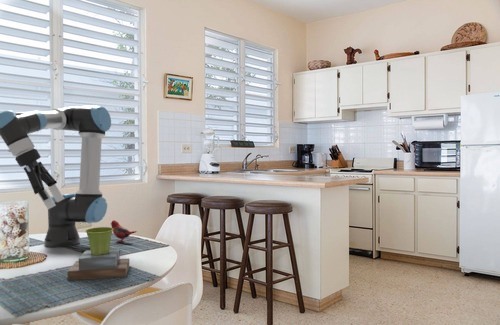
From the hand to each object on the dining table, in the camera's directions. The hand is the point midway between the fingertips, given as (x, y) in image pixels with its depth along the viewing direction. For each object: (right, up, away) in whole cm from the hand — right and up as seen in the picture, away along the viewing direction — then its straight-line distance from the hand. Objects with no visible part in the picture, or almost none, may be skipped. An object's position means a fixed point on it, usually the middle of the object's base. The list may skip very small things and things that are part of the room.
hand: (56, 204), depth 149 cm
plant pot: (+17, -18, -2) cm, 24 cm away
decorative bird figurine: (+10, -23, +45) cm, 52 cm away
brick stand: (+17, -25, -2) cm, 30 cm away
